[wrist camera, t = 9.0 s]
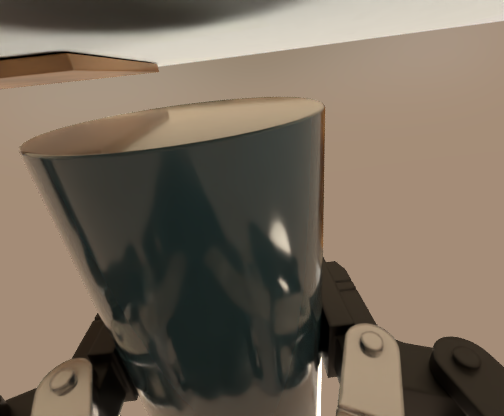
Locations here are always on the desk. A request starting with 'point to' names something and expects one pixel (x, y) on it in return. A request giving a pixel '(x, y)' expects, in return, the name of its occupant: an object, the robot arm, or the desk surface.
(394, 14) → the desk surface
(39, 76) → the brown wooden board
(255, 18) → the desk surface
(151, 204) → the cutlery holder
